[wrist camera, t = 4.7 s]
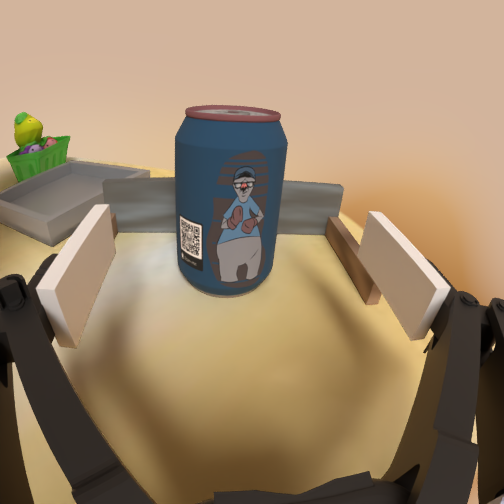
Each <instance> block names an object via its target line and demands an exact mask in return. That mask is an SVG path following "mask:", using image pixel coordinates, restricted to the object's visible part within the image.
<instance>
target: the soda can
mask: <svg viewBox="0 0 504 504" xmlns="http://www.w3.org/2000/svg"><path fill="white" fill-rule="evenodd" d="M185 112H186V113H185V114H186V115H187V116H186V117H185V119H184V121H183V123H182V125H181V126H180V129H179V130H178V132H177V134H176V136H175V203H176V234H177V256H178V265H179V268H180V270H181V272H182V273H183V275H184V276H185V277H186V278H187V280H188V281H189V282H190V283H191V284H192V285H193V286H194V287H195V288H196V289H197V290H199V291H200V292H202V293H205V294H207V295H210V296H215V297H222V298H230V297H238V296H242V295H245V294H247V293H250V292H251V291H253V290H254V289H256V288H257V287H258V286H259V285H260V284H261V283H262V282H263V281H264V279H265V278H266V277H267V276H268V275H269V273H270V271H271V269H272V266H273V259H274V251H275V244H276V236H277V228H278V220H279V212H280V204H281V196H282V188H283V179H284V171H285V161H286V152H287V144H288V142H287V139H286V136H285V134H284V131H283V128H282V126H281V123H280V121H279V120H280V118H281V114H280V113H279V112H276V111H273V110H267V109H262V108H255V107H244V106H228V105H206V106H195V107H190V108H187V109H186V111H185Z"/></svg>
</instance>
